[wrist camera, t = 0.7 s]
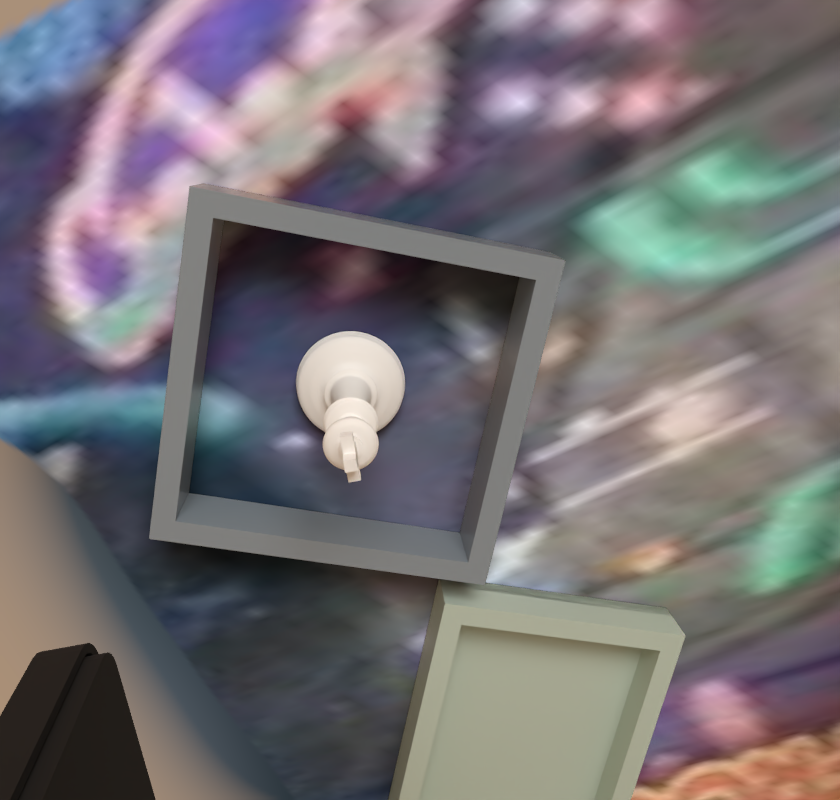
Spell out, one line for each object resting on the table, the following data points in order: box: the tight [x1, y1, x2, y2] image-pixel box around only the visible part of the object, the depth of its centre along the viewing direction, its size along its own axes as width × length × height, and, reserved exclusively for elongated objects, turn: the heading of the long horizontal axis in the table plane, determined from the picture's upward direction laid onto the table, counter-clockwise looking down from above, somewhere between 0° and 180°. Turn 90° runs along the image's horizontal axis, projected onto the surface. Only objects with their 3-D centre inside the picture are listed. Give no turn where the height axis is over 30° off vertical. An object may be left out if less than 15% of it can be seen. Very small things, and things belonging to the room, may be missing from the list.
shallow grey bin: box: [149, 183, 566, 585], centre depth 35 cm, size 15×15×3 cm
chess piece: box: [296, 331, 405, 482], centre depth 32 cm, size 5×5×10 cm
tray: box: [388, 579, 685, 800], centre depth 41 cm, size 12×16×2 cm
